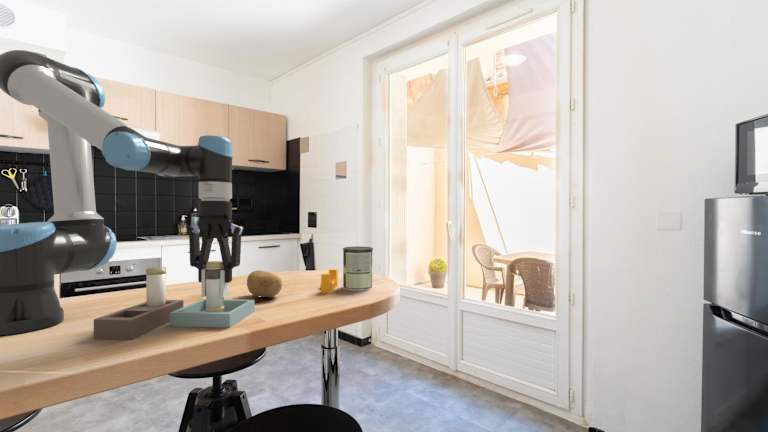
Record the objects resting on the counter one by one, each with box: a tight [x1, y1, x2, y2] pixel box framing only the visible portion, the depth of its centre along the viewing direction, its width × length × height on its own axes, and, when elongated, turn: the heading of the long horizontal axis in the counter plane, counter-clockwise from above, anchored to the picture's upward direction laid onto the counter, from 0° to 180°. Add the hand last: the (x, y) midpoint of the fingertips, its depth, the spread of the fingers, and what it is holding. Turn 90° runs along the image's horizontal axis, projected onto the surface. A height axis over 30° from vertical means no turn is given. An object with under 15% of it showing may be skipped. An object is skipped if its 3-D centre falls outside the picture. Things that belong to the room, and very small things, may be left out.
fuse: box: [145, 266, 167, 307], centre depth 91 cm, size 4×4×12 cm
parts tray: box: [169, 298, 256, 329], centre depth 93 cm, size 14×14×3 cm
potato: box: [246, 270, 283, 299], centre depth 116 cm, size 10×14×8 cm
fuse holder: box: [93, 299, 184, 341], centre depth 86 cm, size 8×18×4 cm, turn 177°
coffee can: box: [342, 246, 374, 292], centre depth 131 cm, size 10×10×14 cm
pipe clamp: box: [320, 268, 339, 294], centre depth 128 cm, size 12×4×6 cm, turn 174°
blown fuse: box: [205, 260, 225, 313], centre depth 93 cm, size 4×4×12 cm
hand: (215, 295), depth 93 cm, fingers closed on blown fuse, 4 cm apart
